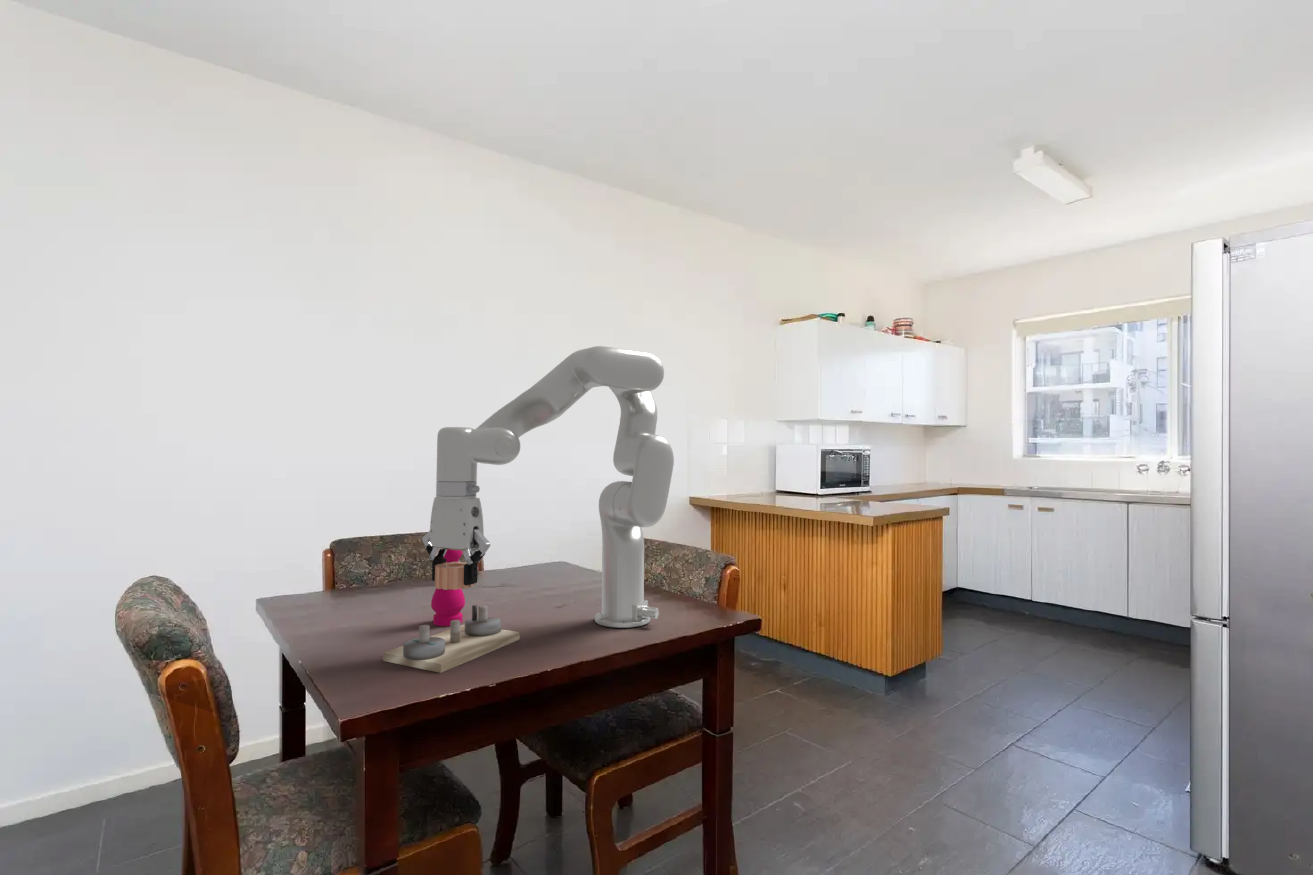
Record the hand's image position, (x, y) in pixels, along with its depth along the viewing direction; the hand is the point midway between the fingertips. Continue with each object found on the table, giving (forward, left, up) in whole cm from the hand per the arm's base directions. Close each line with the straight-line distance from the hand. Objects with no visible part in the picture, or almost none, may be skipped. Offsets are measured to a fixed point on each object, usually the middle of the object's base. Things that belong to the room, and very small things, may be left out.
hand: (454, 581), depth 127 cm
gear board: (0, 0, -13) cm, 13 cm away
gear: (0, 0, -1) cm, 1 cm away
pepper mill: (+15, -14, -14) cm, 25 cm away
